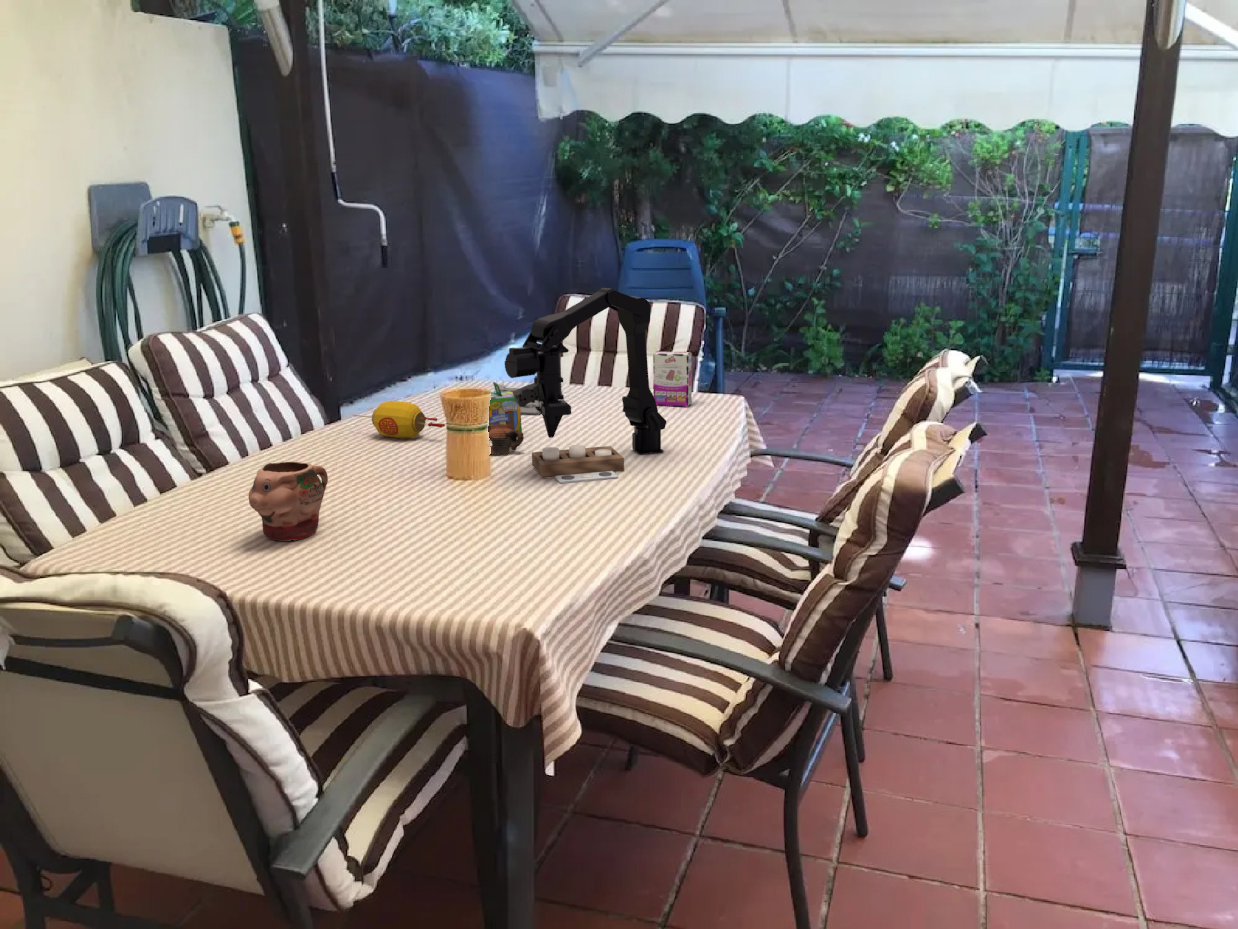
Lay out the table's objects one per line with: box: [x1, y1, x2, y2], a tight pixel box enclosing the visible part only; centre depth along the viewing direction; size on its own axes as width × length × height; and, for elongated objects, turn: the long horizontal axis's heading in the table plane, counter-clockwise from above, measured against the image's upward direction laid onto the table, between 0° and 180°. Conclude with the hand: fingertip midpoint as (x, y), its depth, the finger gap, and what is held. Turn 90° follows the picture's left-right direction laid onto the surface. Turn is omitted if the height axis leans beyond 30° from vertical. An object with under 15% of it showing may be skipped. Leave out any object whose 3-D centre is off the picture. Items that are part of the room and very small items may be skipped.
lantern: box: [352, 400, 446, 440], centre depth 277 cm, size 10×10×30 cm
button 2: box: [595, 449, 611, 456], centre depth 249 cm, size 4×4×3 cm
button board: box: [531, 445, 625, 479], centre depth 247 cm, size 20×12×3 cm, turn 106°
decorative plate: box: [493, 383, 541, 416], centre depth 318 cm, size 30×22×7 cm
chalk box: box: [489, 381, 523, 441], centre depth 277 cm, size 9×9×15 cm
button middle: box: [568, 444, 586, 459], centre depth 246 cm, size 4×4×3 cm
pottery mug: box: [488, 424, 525, 456], centre depth 263 cm, size 12×10×8 cm
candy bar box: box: [652, 350, 693, 408], centre depth 313 cm, size 11×5×16 cm, turn 73°
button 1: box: [541, 446, 560, 461], centre depth 245 cm, size 4×4×3 cm
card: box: [554, 471, 619, 484], centre depth 239 cm, size 14×5×1 cm, turn 106°
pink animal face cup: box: [248, 461, 329, 542], centre depth 202 cm, size 20×12×14 cm, turn 159°
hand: (550, 437), depth 243 cm, fingers closed
